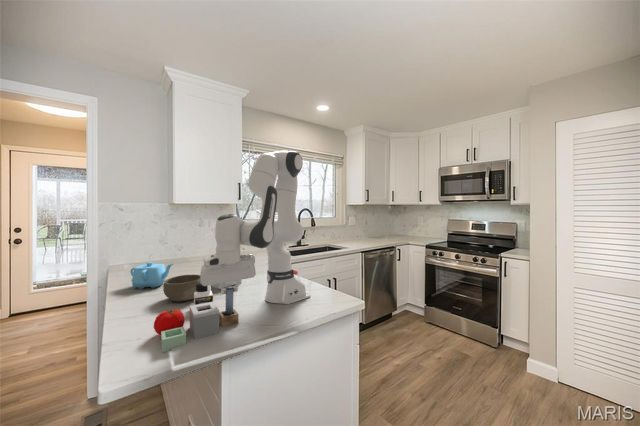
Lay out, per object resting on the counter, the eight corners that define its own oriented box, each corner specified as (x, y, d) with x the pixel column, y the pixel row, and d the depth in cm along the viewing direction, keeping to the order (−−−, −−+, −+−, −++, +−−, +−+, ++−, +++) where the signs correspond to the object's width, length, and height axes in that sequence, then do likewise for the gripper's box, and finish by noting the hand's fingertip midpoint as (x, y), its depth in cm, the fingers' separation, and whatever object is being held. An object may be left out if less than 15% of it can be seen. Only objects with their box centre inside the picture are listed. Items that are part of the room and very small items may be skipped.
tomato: (148, 340, 90) (148, 316, 90) (164, 327, 101) (164, 304, 100) (176, 340, 91) (176, 315, 91) (190, 326, 101) (189, 304, 101)
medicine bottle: (194, 314, 113) (194, 285, 113) (194, 308, 119) (194, 281, 119) (213, 311, 116) (213, 283, 116) (211, 305, 122) (211, 279, 122)
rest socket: (183, 338, 92) (183, 326, 92) (186, 346, 87) (186, 334, 87) (161, 343, 89) (161, 331, 89) (162, 352, 83) (162, 339, 83)
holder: (233, 320, 107) (233, 308, 107) (238, 325, 102) (238, 314, 102) (218, 323, 104) (218, 312, 104) (222, 329, 99) (222, 317, 99)
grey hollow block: (212, 324, 103) (212, 301, 102) (219, 335, 94) (219, 310, 94) (189, 330, 98) (189, 305, 98) (194, 341, 90) (194, 315, 90)
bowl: (155, 301, 128) (155, 280, 127) (189, 290, 143) (189, 272, 143) (178, 307, 120) (178, 285, 119) (211, 296, 135) (211, 276, 135)
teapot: (138, 293, 139) (138, 267, 139) (126, 286, 149) (126, 262, 149) (174, 285, 154) (174, 261, 153) (162, 279, 164) (162, 257, 163)
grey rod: (232, 311, 106) (232, 285, 105) (234, 313, 103) (234, 287, 103) (224, 312, 104) (224, 287, 104) (226, 315, 102) (226, 289, 101)
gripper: (252, 252, 111) (253, 285, 112) (198, 259, 100) (199, 295, 100) (257, 254, 106) (258, 289, 106) (201, 262, 94) (203, 301, 95)
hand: (229, 292), depth 103 cm, fingers closed on grey rod, 3 cm apart
